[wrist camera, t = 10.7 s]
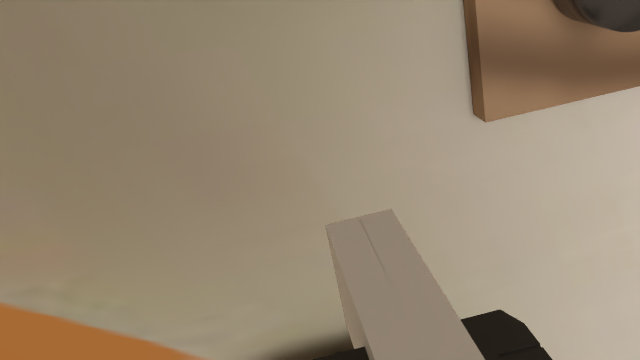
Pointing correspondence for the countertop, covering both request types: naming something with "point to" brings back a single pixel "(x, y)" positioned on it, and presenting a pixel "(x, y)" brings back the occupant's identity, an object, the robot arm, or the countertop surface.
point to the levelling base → (542, 57)
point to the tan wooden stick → (603, 13)
